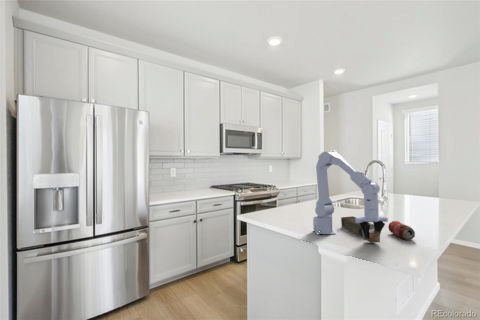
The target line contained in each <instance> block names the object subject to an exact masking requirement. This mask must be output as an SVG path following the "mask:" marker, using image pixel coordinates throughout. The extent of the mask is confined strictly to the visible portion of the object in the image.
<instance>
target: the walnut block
mask: <svg viewBox="0 0 480 320" xmlns="http://www.w3.org/2000/svg"><path fill="white" fill-rule="evenodd" d="M364 240H366V242H369V243H371V244H372V243H380V242H381V233H380V232H378V231H376V230H374V229H372V230H369V239H367V238H365V237H364Z"/></svg>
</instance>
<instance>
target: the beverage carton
mask: <svg viewBox="0 0 480 320" xmlns="http://www.w3.org/2000/svg"><path fill="white" fill-rule="evenodd" d="M355 218H357V217H356V216H353V215H351V216H343V217H340V221H341V223H340V224H341V228H342V229H345V230H347V231H349V232H350V233H353V234H355V235H356V236H359V237H361V238H365V235H364V232H363V229H362V227H361V226H360V224H359V223H356V219H355ZM367 223H368V224H369V225H370V229H369V230H372V229H374V224H372V223H371V222H367ZM374 230H375V229H374Z"/></svg>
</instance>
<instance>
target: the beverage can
mask: <svg viewBox="0 0 480 320" xmlns="http://www.w3.org/2000/svg"><path fill="white" fill-rule="evenodd" d="M387 227H388V230H389V232H390V233H392V234H394V235H395V236H398V237H399V238H401V239H402V240H405V241H410V240H413V239H414V238H415V237H416V233H415V230H414V228H412V227H411V226H409V225H407V224H404V223H401V222H400V221H398V220H392V221H391V222H389V223H388V226H387Z"/></svg>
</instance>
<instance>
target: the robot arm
mask: <svg viewBox="0 0 480 320" xmlns="http://www.w3.org/2000/svg"><path fill="white" fill-rule="evenodd" d="M317 159H318V161H317V163H316V166H315V169H316V181H317V182H316V183H317V192H318V199H317V201H316V203H315V204H316V206H315V209H314V210H315V214H316V216H314V217H313V219H312V220H313V222H312V223H313V224H312V225H313V227H312V228H313V230H314V231H315V232H316V234H317V233H318V234H330V235H336V234H337V233H336V232H334V231H333V214H334V212H335V207H334V205H333V201H332V200H331V198H330V193H329V192H330V191H329V182H328V180H329V177H328V169H329V168H330V167H331V166H332V165H334V166H335V165H336V166H338V167H340V169H342V170H343V171H344V172H346V174H348V175H349V176H350V178H349V179H350V180H351V181H352V182H353V183H354V184H355V185H356V186H357V187H359V188H360V190H361V194H363V204H364V205H363V207H364V208H363V209H364V210H363V211H364V216H362V217H356V218H355V219H356V223H359V224H360V226H361V227H362V229H363V232H364V235H365V237H364V239H365V238H367V239H369V229H370V225H369V224H368V223H373V225H374V229H375V230H376V231H378V232H380V234H381V233H382V230H383V228H384V227H385V225H386V224H385V223H388V222H389V220H388V219H389V218H388V217H387V216H379V195H378V193H380V185H379V184H378V183H377V182H375V181H373V180H372V179H369V178H368V177H367V176H366V175H365V172H363V171H361V170H355V168H353V167H352V166H351V165H350V163H348V162H347V160H345V159H344V158H343V157H342V155H340V154H339V153H338V152H336V151H322V152H320V154H319V155H318V158H317ZM367 222H368V223H367ZM314 231H313V232H314ZM319 231H320V232H319ZM315 232H314V233H315ZM318 234H317V235H318Z"/></svg>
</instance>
